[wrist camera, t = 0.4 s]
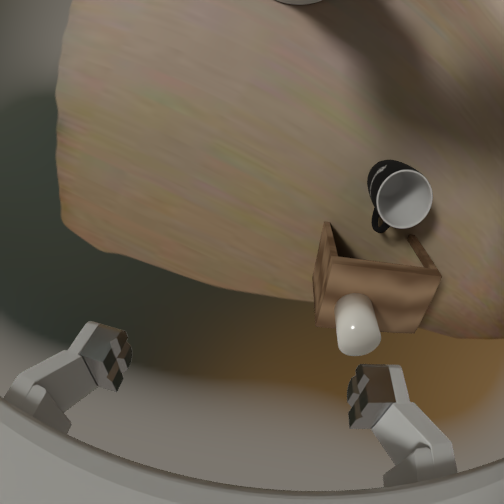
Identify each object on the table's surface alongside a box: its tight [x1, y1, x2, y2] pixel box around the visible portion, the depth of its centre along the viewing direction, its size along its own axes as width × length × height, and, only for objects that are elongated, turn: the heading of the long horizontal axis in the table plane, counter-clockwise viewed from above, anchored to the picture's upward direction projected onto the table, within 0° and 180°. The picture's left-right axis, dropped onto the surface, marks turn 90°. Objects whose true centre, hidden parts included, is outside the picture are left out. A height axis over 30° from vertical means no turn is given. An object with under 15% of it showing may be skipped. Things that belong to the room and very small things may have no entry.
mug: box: [367, 160, 433, 233], centre depth 43 cm, size 12×9×10 cm
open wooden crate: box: [312, 222, 442, 333], centre depth 48 cm, size 12×18×14 cm, turn 86°
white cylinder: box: [334, 293, 381, 356], centre depth 41 cm, size 6×6×7 cm
